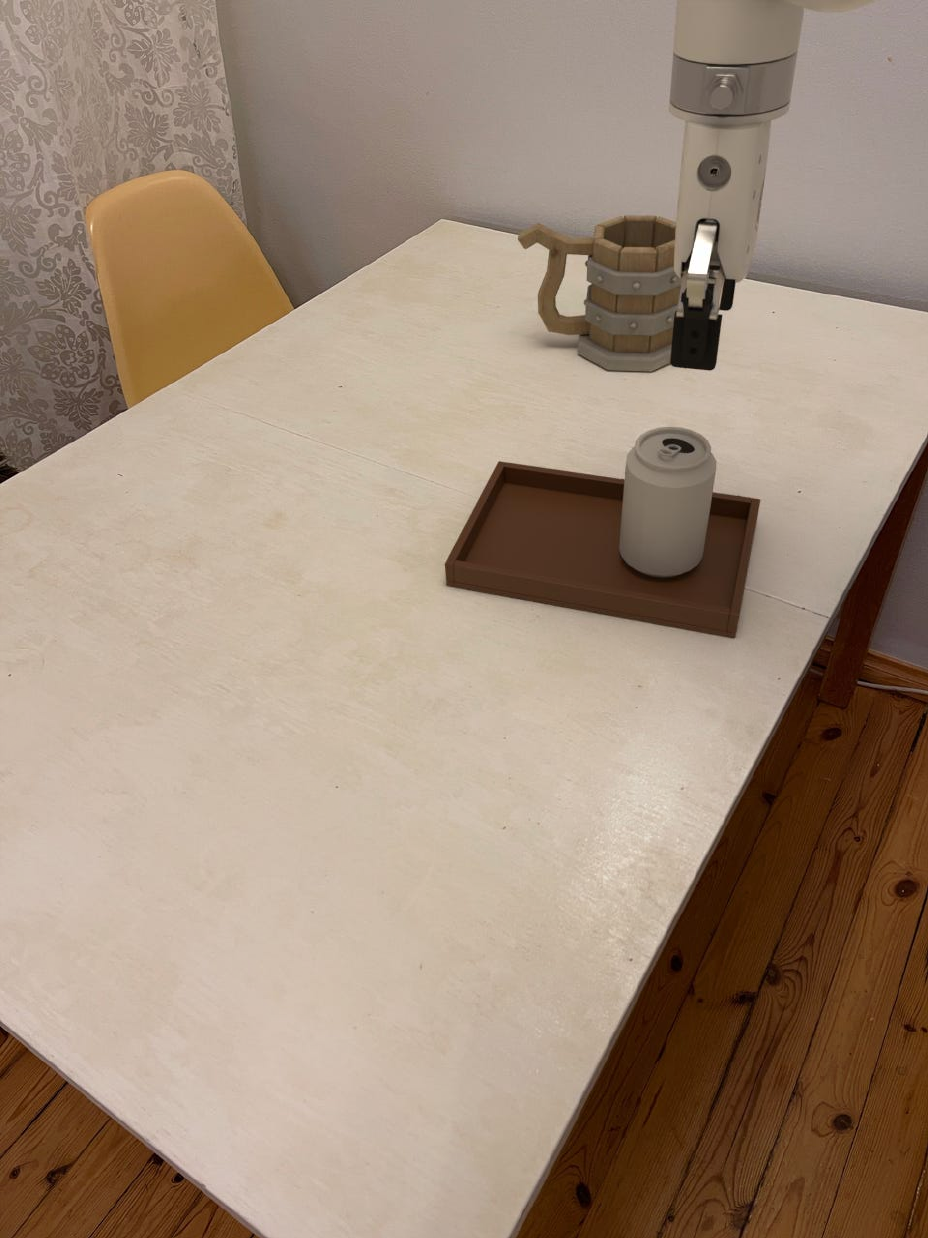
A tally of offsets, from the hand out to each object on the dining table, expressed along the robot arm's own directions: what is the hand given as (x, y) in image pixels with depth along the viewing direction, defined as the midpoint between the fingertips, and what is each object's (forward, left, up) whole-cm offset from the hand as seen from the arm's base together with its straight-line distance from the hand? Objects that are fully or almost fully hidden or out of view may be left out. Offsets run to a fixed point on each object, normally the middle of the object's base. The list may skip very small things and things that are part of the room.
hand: (702, 335), depth 73 cm
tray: (+6, 0, -23) cm, 23 cm away
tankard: (+15, -39, -23) cm, 48 cm away
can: (+1, 0, -22) cm, 22 cm away
